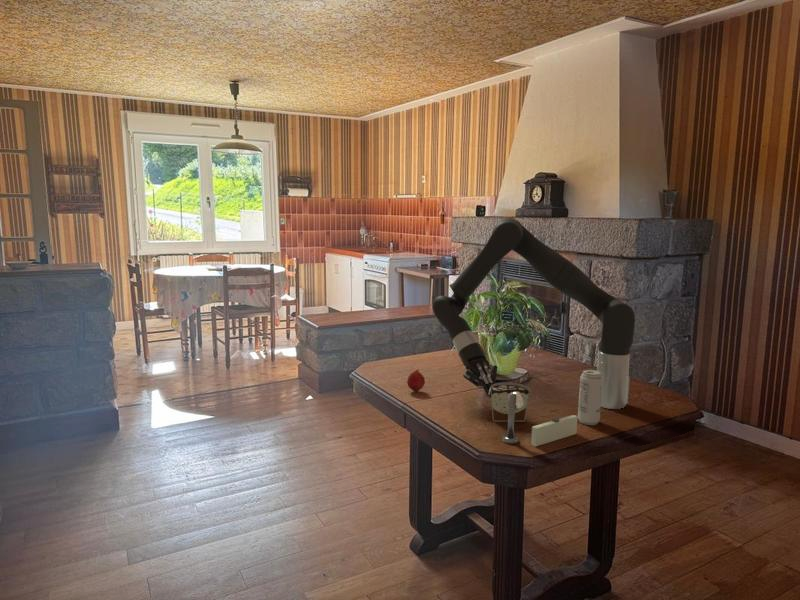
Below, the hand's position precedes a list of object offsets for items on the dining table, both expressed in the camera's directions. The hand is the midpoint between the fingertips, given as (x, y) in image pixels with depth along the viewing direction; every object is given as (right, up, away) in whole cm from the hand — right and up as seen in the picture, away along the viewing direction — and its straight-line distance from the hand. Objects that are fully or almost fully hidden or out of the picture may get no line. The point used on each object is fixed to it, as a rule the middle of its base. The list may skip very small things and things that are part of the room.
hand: (493, 396), depth 166 cm
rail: (+13, -8, -20) cm, 25 cm away
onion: (-23, -2, +18) cm, 29 cm away
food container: (+3, -6, -4) cm, 8 cm away
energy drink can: (+26, -6, -7) cm, 28 cm away
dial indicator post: (+1, -8, -21) cm, 23 cm away
